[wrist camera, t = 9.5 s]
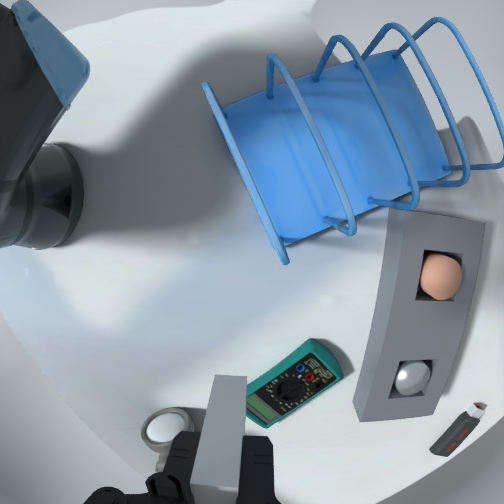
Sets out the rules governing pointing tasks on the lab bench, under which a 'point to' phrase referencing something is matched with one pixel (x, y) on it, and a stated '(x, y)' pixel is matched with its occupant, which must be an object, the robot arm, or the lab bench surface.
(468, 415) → the usb drive
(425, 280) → the peach rounded dome part
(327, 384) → the digital multimeter
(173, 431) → the pipe fitting
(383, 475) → the lab bench surface
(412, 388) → the steel plunger
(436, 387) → the block
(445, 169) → the file sorter
